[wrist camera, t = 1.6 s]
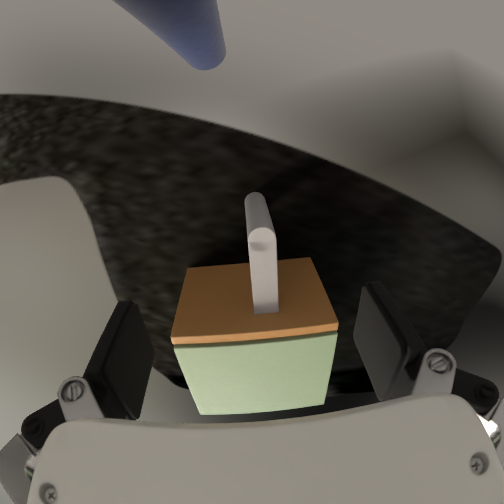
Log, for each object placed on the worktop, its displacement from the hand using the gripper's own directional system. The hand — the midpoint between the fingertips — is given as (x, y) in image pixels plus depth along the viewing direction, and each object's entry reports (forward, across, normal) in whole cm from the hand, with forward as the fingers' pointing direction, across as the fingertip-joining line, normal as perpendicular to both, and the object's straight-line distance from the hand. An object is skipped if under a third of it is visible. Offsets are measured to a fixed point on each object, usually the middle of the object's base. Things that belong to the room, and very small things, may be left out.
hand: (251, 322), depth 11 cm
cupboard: (+19, 0, +12) cm, 22 cm away
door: (+18, 0, +3) cm, 19 cm away
